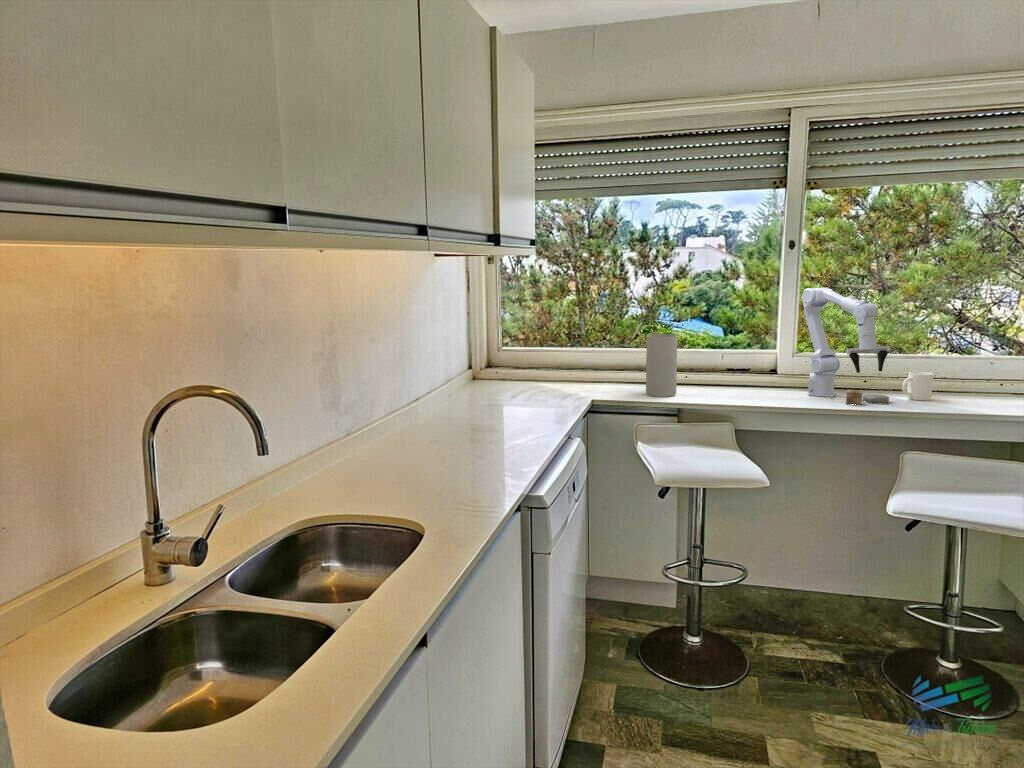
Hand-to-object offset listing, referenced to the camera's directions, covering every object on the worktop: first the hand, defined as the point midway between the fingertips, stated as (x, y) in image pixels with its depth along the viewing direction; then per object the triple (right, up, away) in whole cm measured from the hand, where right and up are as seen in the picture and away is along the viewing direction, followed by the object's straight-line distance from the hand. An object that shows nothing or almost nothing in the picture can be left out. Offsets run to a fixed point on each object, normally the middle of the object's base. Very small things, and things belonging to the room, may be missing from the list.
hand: (869, 371), depth 255 cm
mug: (+23, -11, +10) cm, 28 cm away
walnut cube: (-4, -12, +4) cm, 14 cm away
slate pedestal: (+6, -11, +7) cm, 15 cm away
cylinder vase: (-72, -9, +30) cm, 78 cm away
